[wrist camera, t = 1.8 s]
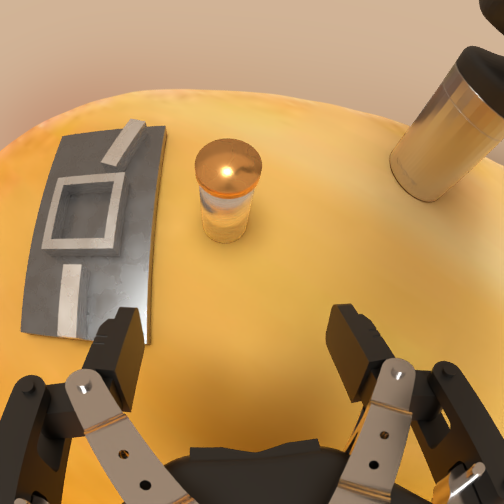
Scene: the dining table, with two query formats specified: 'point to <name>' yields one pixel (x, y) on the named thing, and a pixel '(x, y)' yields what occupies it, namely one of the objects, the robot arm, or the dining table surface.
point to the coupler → (227, 187)
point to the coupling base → (95, 233)
